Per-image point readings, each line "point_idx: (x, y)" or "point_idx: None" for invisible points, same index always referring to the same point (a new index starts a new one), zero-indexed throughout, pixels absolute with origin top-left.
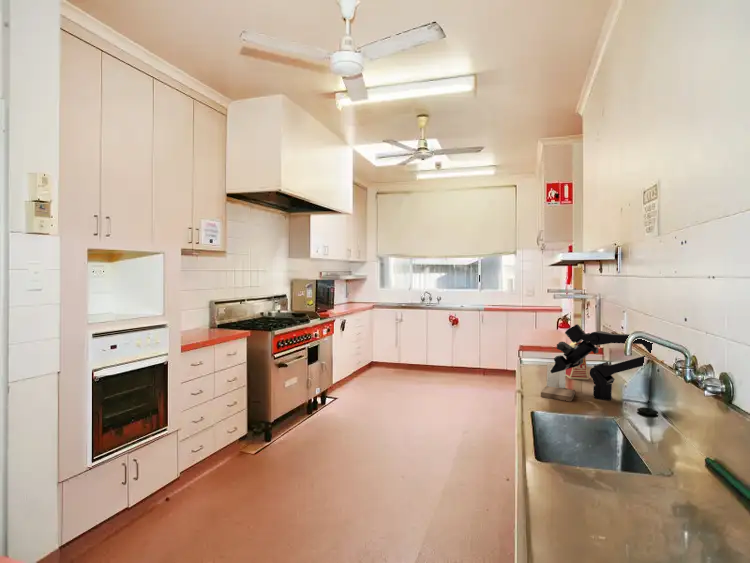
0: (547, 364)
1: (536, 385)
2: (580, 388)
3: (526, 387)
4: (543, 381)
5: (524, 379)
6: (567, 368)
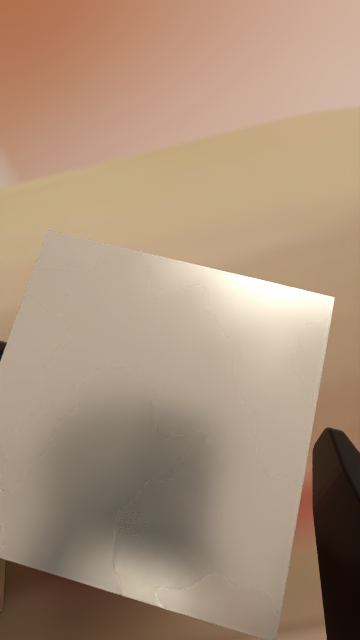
0: (53, 239)
1: (141, 245)
2: (304, 618)
3: (26, 200)
4: (326, 258)
5: (280, 124)
6: (323, 598)
